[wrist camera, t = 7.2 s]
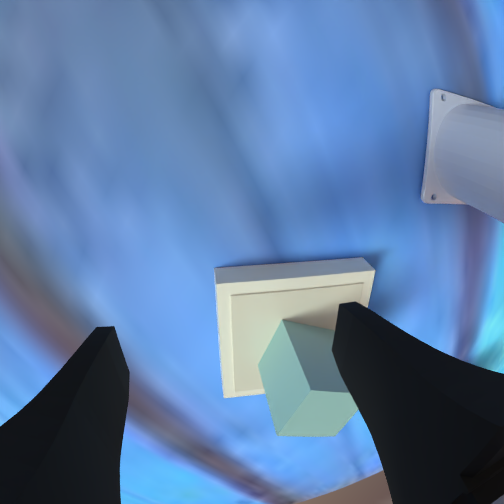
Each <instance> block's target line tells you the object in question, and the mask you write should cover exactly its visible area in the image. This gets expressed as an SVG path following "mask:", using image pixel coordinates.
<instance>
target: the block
mask: <svg viewBox="0 0 504 504" xmlns="http://www.w3.org/2000/svg"><path fill="white" fill-rule="evenodd" d="M334 333H335V331H334V330H330V329H325V328H320V327H315V326H310V325H306V324H301V323H296V322H291V321H287V320H281V322H280V324H279V326H278V328H277V330H276V332H275V334H274V336H273V337H272V339H271V341H270V343H269V345H268V347H267V349H266V351H265V352H264V354H263V356H262V358H261V360H260V362H259V363H258V368H259V372H260V376H261V379H262V383H263V387H264V390H265V394H266V398H267V402H268V405H269V409H270V412H271V416H272V420H273V423H274V427H275V431H276V434H277V436H303V437H324V436H336V434H337V433H338V432H339V431H340V430H341V429H342V428H343V427H344V426H345V424H346V423H347V422H348V421H349V420H350V419H351V418H352V416H353V415H354V414H355V413H356V412H357V411H358V407H357V406H356V404H355V402H354V400H353V398H352V396H351V394H350V392H349V391H348V389H347V387H346V385H345V383H344V381H343V379H342V377H341V375H340V373H339V370H338V367H337V365H336V362H335V359H334V356H333V353H332V345H333V339H334Z"/></svg>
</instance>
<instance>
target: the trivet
mask: <svg viewBox="0 0 504 504" xmlns="http://www.w3.org/2000/svg"><path fill="white" fill-rule="evenodd" d="M374 275H375V269H374V268H373V267H372V266H371V265H370V264H369V263H368V262H367V261H366V260H365V259H364V258H363V257H358V258H346V259H333V260H320V261H307V262H293V263H279V264H265V265H251V266H236V267H222V268H214V278H215V295H216V312H217V327H218V342H219V355H220V368H221V380H222V387H223V395H224V398H230V397H240V396H249V395H257V394H265V390H264V387H263V383H262V379H261V376H260V372H259V368H258V363H259V362H260V360H261V358H262V356H263V354H264V352H265V351H266V349H267V347H268V345H269V343H270V341H271V339H272V337H273V336H274V334H275V332H276V330H277V328H278V326H279V324H280V322H281V320H287V321H291V322H296V323H301V324H306V325H310V326H315V327H320V328H325V329H330V330H334V331H335V327H336V321H337V314H338V308H339V304H341V303H348V302H354V301H356V302H358V303H360V304H362V305H363V306H365V307H367V308H368V303H369V299H370V294H371V290H372V285H373V280H374Z"/></svg>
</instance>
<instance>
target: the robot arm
mask: <svg viewBox="0 0 504 504" xmlns="http://www.w3.org/2000/svg"><path fill="white" fill-rule="evenodd" d="M441 95H442V96H443V100H442V99H441ZM432 195H433V198H431V197H432ZM421 200H422V201H423V202H425V203H427V204H468V205H470V206H472V207H474V208H476V209H478V210H480V211H482V212H484V213H486V214H488V215H490V216H491V217H493V218H495V219H497V220H499V221H501V222H502V223H504V109H498V108H495V107H493V106H490V105H487V104H484V103H481V102H479V101H476V100H473V99H470V98H466V97H463V96H460V95H457V94H454V93H450V92H447V91H443V90H440V89H433V90H431V92H430V107H429V124H428V138H427V149H426V159H425V168H424V176H423V184H422V191H421ZM332 353H333V356H334V359H335V362H336V365H337V367H338V370H339V373H340V375H341V377H342V379H343V381H344V383H345V385H346V387H347V389H348V391H349V392H350V394H351V396H352V398H353V400H354V402H355V404H356V406H357V407H358V409H359V411H360V413H361V415H362V417H363V419H364V421H365V423H366V424H367V427H368V429H369V431H370V433H371V435H372V438H373V441H374V443H375V446H376V449H377V452H378V454H379V457H380V460H381V463H382V466H383V469H384V473H385V476H386V479H387V483H388V486H389V490H390V494H391V498H392V502H393V504H504V374H502V373H498V372H495V371H491V370H487V369H484V368H481V367H478V366H475V365H472V364H469V363H467V362H464V361H462V360H459V359H457V358H455V357H452V356H450V355H448V354H446V353H443V352H441V351H439V350H437V349H435V348H433V347H431V346H429V345H428V344H426V343H424V342H422V341H420V340H418V339H417V338H415V337H413V336H411V335H410V334H408V333H406V332H405V331H403V330H401V329H400V328H398V327H397V326H395V325H393V324H392V323H390V322H389V321H387V320H386V319H384V318H382V317H381V316H379V315H378V314H376V313H375V312H373V311H371V310H370V309H368V308H367V307H365V306H363V305H362V304H360V303H358V302H356V301H354V302H348V303H341V304H339V308H338V314H337V321H336V327H335V333H334V339H333V345H332ZM129 374H130V372H129V369H128V366H127V364H126V361H125V358H124V355H123V352H122V349H121V346H120V343H119V340H118V337H117V334H116V330H115V327H114V326H110V327H96V328H95V330H94V331H93V332H92V333H91V334H90V335H89V336H88V338H87V339H86V340H85V341H84V342H83V343H82V345H81V346H80V347H79V348H78V350H77V351H76V352H75V353H74V354H73V355H72V357H71V358H70V359H69V360H68V361H67V363H66V364H65V365H64V366H63V367H62V368H61V370H60V371H59V372H58V373H57V374H56V375H55V376H54V377H53V378H52V379H51V380H50V382H49V383H48V384H47V385H46V386H45V387H44V388H43V389H42V390H41V391H40V392H39V393H38V394H37V395H36V396H35V397H34V398H33V399H32V400H31V401H30V402H29V403H28V404H27V405H26V406H25V407H24V408H23V409H21V410H20V411H19V412H18V413H17V414H16V415H14V416H13V417H12V418H11V419H9V420H8V421H7V422H5V423H4V424H3V425H2V426H0V504H121V498H120V456H121V448H122V440H123V433H124V426H125V420H126V413H127V407H128V400H129Z"/></svg>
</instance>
